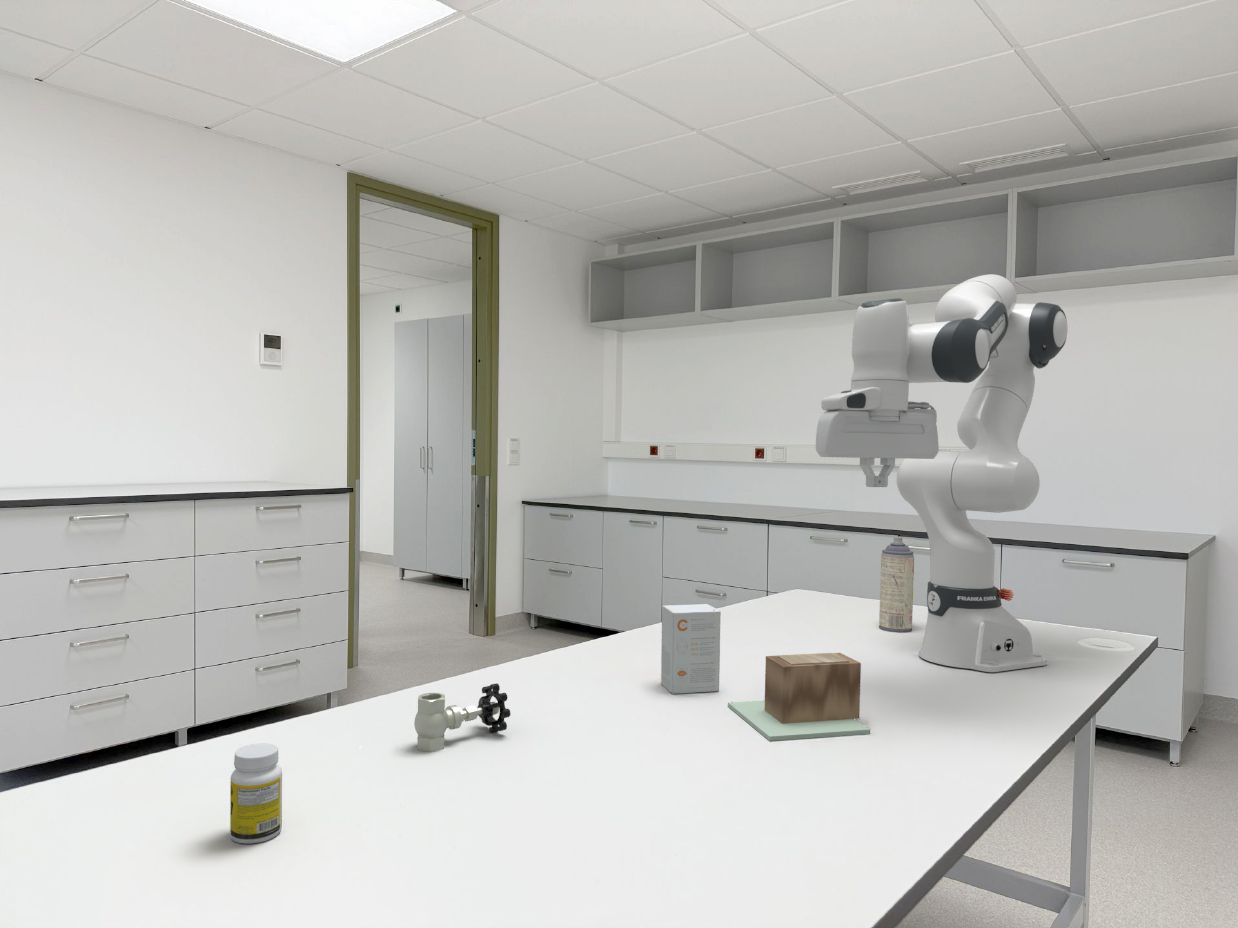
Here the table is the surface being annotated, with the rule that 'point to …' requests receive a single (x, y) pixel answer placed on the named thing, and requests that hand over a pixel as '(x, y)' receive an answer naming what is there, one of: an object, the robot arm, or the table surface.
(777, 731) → the green glass pane
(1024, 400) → the robot arm
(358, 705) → the table surface
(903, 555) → the aerosol can
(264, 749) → the supplement bottle
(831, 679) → the walnut block
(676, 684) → the small box
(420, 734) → the valve
